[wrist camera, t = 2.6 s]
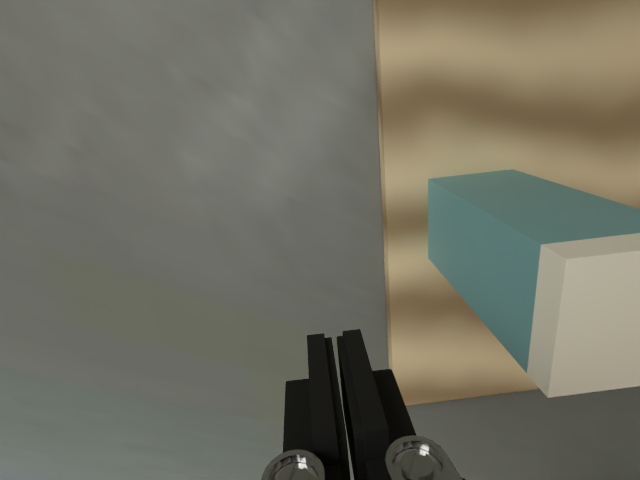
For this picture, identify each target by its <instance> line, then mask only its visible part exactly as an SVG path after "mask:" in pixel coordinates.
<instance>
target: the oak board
mask: <svg viewBox="0 0 640 480" xmlns="http://www.w3.org/2000/svg"><path fill="white" fill-rule="evenodd" d="M373 9H374V32H375V56H376V79H377V102H378V125H379V148H380V171H381V194H382V217H383V240H384V263H385V286H386V309H387V333H388V356H389V369H391V370H392V371H393V374H394V376H395V379H396V382H397V384H398V387H399V390H400V393H401V395H402V398H403V401H404V403H405V406H408V405H416V404H424V403H432V402H439V401H447V400H455V399H463V398H471V397H478V396H486V395H494V394H502V393H510V392H518V391H525V390H533V389H540V388H539V387H538V386H537V385H536V384H535V382H534V381H533V380H532V379H531V378H530V377H529V375H528V374H527V373H526V372H525V371H524V370H523V368H522V367H521V366H520V365H519V364H518V363H517V361H516V360H515V359H514V358H513V357H512V356H511V354H510V353H509V352H508V351H507V350H506V349H505V347H504V346H503V345H502V344H501V343H500V342H499V340H498V339H497V338H496V337H495V336H494V335H493V333H492V332H491V331H490V330H489V329H488V327H487V326H486V325H485V324H484V323H483V322H482V320H481V319H480V318H479V317H478V316H477V315H476V313H475V312H474V311H473V310H472V309H471V308H470V306H469V305H468V304H467V303H466V302H465V301H464V299H463V298H462V297H461V296H460V295H459V294H458V292H457V291H456V290H455V289H454V288H453V287H452V285H451V284H450V283H449V282H448V281H447V280H446V278H445V277H444V276H443V275H442V274H441V272H440V271H439V270H438V269H437V268H436V267H435V265H434V264H433V263H432V262H431V261H430V260H429V258H428V179H430V178H439V177H448V176H457V175H466V174H475V173H484V172H493V171H501V170H510V169H513V170H517V171H520V172H523V173H526V174H529V175H533V176H536V177H539V178H542V179H545V180H548V181H552V182H555V183H558V184H561V185H564V186H568V187H571V188H574V189H577V190H580V191H583V192H587V193H590V194H593V195H596V196H599V197H603V198H606V199H609V200H612V201H615V202H618V203H622V204H625V205H628V206H631V207H634V208H637V209H640V0H373Z"/></svg>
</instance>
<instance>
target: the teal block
mask: <svg viewBox="0 0 640 480" xmlns="http://www.w3.org/2000/svg"><path fill="white" fill-rule="evenodd" d="M428 258H429V260H430V261H431V262H432V263H433V264H434V265H435V267H436V268H437V269H438V270H439V271H440V272H441V274H442V275H443V276H444V277H445V278H446V280H447V281H448V282H449V283H450V284H451V285H452V287H453V288H454V289H455V290H456V291H457V292H458V294H459V295H460V296H461V297H462V298H463V299H464V301H465V302H466V303H467V304H468V305H469V306H470V308H471V309H472V310H473V311H474V312H475V313H476V315H477V316H478V317H479V318H480V319H481V320H482V322H483V323H484V324H485V325H486V326H487V327H488V329H489V330H490V331H491V332H492V333H493V335H494V336H495V337H496V338H497V339H498V340H499V342H500V343H501V344H502V345H503V346H504V347H505V349H506V350H507V351H508V352H509V353H510V354H511V356H512V357H513V358H514V359H515V360H516V361H517V363H518V364H519V365H520V366H521V367H522V368H523V370H524V371H525V372H526V373H527V374H528V375H529V377H530V378H531V379H532V380H533V381H534V382H535V384H536V385H537V386H538V387H539V388H540V389H541V391H542V392H543V393H544V394H545V395H546V397H547V398H550V397H558V396H566V395H573V394H581V393H589V392H597V391H604V390H612V389H620V388H628V387H636V386H640V209H637V208H634V207H631V206H628V205H625V204H622V203H618V202H615V201H612V200H609V199H606V198H603V197H599V196H596V195H593V194H590V193H587V192H583V191H580V190H577V189H574V188H571V187H568V186H564V185H561V184H558V183H555V182H552V181H548V180H545V179H542V178H539V177H536V176H533V175H529V174H526V173H523V172H520V171H517V170H513V169H510V170H501V171H493V172H484V173H475V174H466V175H457V176H448V177H439V178H430V179H428Z"/></svg>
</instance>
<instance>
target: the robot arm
mask: <svg viewBox="0 0 640 480" xmlns="http://www.w3.org/2000/svg"><path fill="white" fill-rule="evenodd" d="M307 345H308V366H309V379H302V380H293V381H286V391H285V416H284V441H283V453H282V454H279V455H278V456H277V457H275V458H274V459H273V460H271V462H270V463H269V464H268V465H267V467H266V468H265V471H264V473H263V475H262V479H261V480H350V470H349V460H348V449H347V440H346V431H345V424H344V417H343V411H342V404H341V398H340V391H339V384H338V378H337V371H336V365H335V358H334V352H333V345H332V338H331V337H330V338H325V337H324V334H315V335H307ZM337 346H338V357H339V367H340V378H341V388H342V399H343V409H344V416H345V423H346V429H347V436H348V442H349V448H350V455H351V461H352V468H353V474H354V480H465V479H463V478H462V477H461V476H460V474H459V473H458V471H457V470H456V468H455V466H454V465H453V463H452V462H451V460H450V458H449V457H448V455H447V454H446V452H445V451H444V450H443V449H442V448H441V446H440V445H438V444H437V443H435V442H434V441H432V440H430V439H428V438H425V437H422V436H416V433H415V431H414V428H413V425H412V422H411V420H410V417H409V414H408V412H407V409H406V406H405V403H404V401H403V398H402V395H401V393H400V390H399V387H398V384H397V382H396V379H395V376H394V374H393V371H392V370H391V369H386V370H377V371H372V369H371V366H370V362H369V359H368V355H367V352H366V348H365V345H364V341H363V338H362V334H361V331H360V329H358V330H349V331H343V336H338V337H337Z"/></svg>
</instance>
